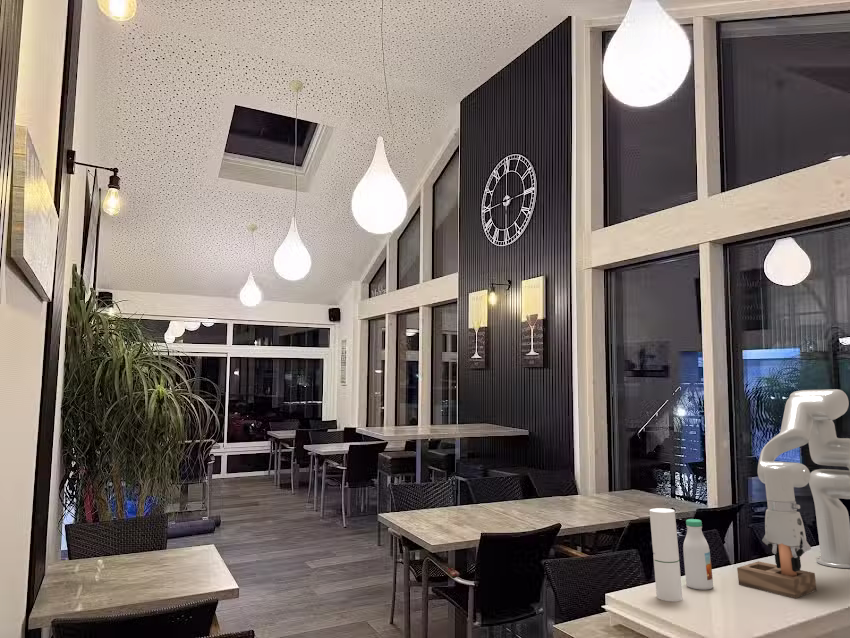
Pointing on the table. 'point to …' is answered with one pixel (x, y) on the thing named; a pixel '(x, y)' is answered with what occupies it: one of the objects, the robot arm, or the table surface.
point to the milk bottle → (697, 557)
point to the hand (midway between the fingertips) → (788, 568)
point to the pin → (786, 560)
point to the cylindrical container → (665, 554)
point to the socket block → (776, 580)
